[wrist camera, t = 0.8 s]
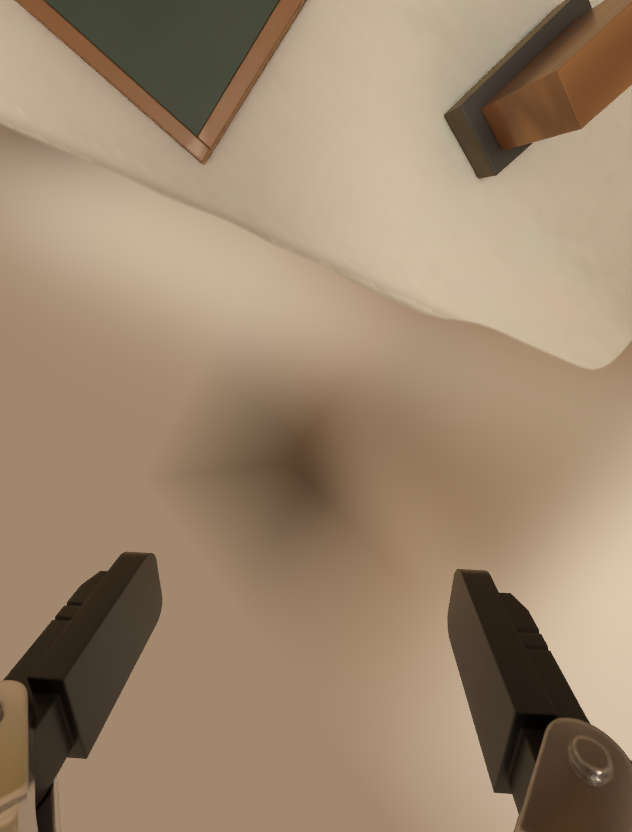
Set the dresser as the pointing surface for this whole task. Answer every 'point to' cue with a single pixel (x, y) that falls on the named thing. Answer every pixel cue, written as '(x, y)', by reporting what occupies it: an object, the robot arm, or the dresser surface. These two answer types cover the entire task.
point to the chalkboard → (175, 54)
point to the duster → (547, 83)
